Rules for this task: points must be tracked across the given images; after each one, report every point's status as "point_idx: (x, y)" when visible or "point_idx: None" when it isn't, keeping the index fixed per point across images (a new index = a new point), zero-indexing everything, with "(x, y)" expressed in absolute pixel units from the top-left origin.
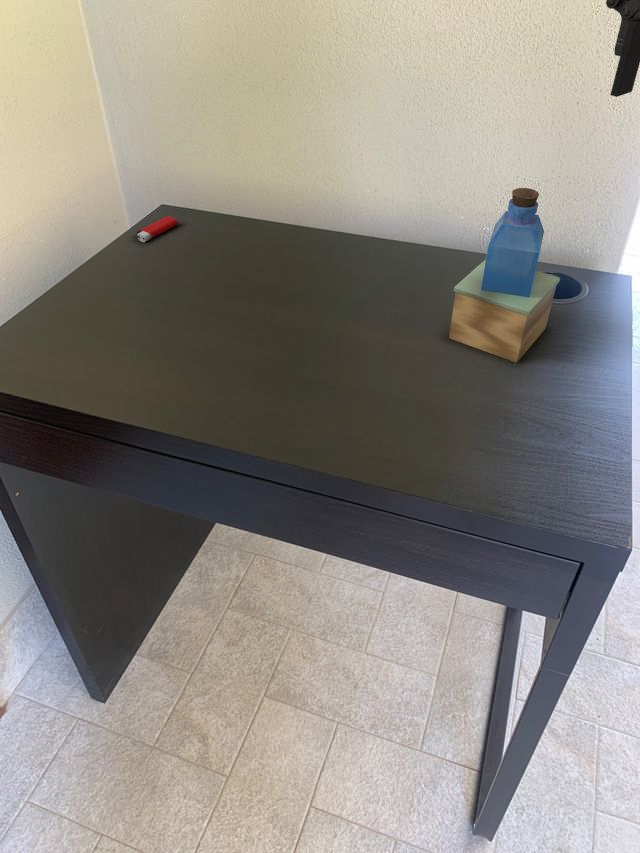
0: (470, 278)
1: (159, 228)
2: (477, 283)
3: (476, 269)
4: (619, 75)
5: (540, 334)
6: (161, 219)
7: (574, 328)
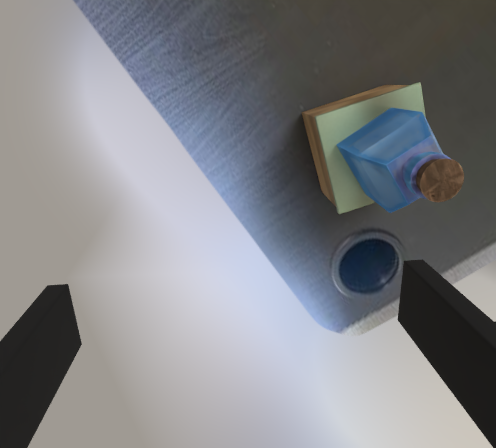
0: None
1: None
2: None
3: None
4: (437, 283)
5: (318, 177)
6: None
7: (301, 217)
